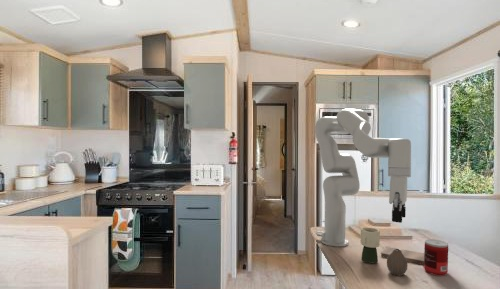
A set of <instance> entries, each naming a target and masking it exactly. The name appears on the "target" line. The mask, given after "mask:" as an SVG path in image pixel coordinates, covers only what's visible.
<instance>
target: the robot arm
mask: <svg viewBox="0 0 500 289" xmlns="http://www.w3.org/2000/svg"><path fill="white" fill-rule="evenodd" d="M369 119H370V118H369V115H368V113H367V112H366V111H365V110H363V109H356V108H344V109H341V110H339V111H338V112H337V114H336V116H332V115H331V116H322V117H320V118H318V119H317V121H316V122H315V126H314V134H315V138H316V140H317V144H318V147H319V152H320V153H319V154H320V157H321V165H322V169H323V170H324V172H325V173H327V174H341V175H330V176H328V177H327V176H326V178H325V179H324V180H323V182H322V189H323V196H324V228H323V229H324V230H322V231H320V230H316V233H315V234H316V237H321V238H320V242H321V244H324V245H326V246H329V247H336V248H339V247H340V248H341V247H346V246H348V245H349V240H348V239H346V210H347V208H346V207H347V206H346V203H345V200H344V199H343V197H344V196H354V195H356V194H358V193H359V191H360V179H359V173H358V169H357V164H356V161H355V158H354V157H353V156H352V155H351V154H349V153H341V152H339V147H338V143H337V141H336V140H335V138H334V137H333V136H332V135H351V136H352V143H353V146H354V147H355V149H357V150H358V152H360V153H361V154H363V156H366V157H367V158H371V159H373V158H374V159H375V158H381V159H382V158H384V159H385V158H387V162H388V163H387V176H388V177H390V178H389V180H390V181H389V194H388V195H389V196H388V203H389V204H390V205H392V210H391V222H392V223H399V224H401V223H402V222H403V218H406V209H407V208H406V202H407V198H408V197H407V196H408V178H411V177H412V142H411V140H410V139H408V138H388V137H386V138H384V137H371V136H369V134H370V132H371V129H372V127H371V124H370V122H369Z"/></svg>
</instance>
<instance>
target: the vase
mask: <svg viewBox="0 0 500 289" xmlns="http://www.w3.org/2000/svg"><path fill="white" fill-rule="evenodd" d="M400 249H401V248H397V249H394V250H393V252H392V253H391V254H390V255H389V256H388V258H387V259H386V267H387V269H388V271H389V272H390V274H392V275H394V276H397V277H398V276H399V277H401V276H403V275H404V274H406V273H407V270H408V262H407V260H406V258H405V256H404V255H403V253H402V252H401V250H400Z"/></svg>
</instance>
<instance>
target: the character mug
mask: <svg viewBox="0 0 500 289" xmlns="http://www.w3.org/2000/svg"><path fill="white" fill-rule="evenodd" d="M380 233H381V232H380V229H378V228H375V227H368V226H367V227H365V226H364V227H363V226H362V227H361V228H360V241H359V242H360V245H361V246H363V247H362V252H361V258H360V259H361V261H362V262H366V263H367V264H369V263H370V264H377V263H378V262H379V261H378V260H379V258H378V250H377V249H378V247H380V241H381V240H380Z"/></svg>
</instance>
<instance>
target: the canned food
mask: <svg viewBox="0 0 500 289" xmlns="http://www.w3.org/2000/svg"><path fill="white" fill-rule="evenodd" d="M423 253H424V265H423V268H424V269H423V270H425V272H426V273H428V274H430V275H434V276H439V277H441V276H446V275H447V274H448V271H449V269H448V268H449V267H448V266H449V243H447V242H446V241H444V240H440V239H435V238H433V239H431V238H429V239H425V240H424V251H423Z"/></svg>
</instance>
